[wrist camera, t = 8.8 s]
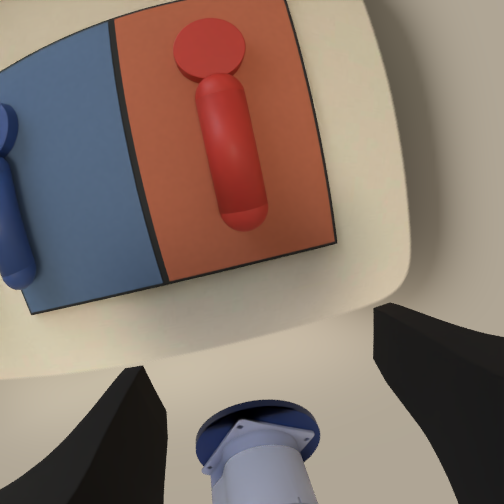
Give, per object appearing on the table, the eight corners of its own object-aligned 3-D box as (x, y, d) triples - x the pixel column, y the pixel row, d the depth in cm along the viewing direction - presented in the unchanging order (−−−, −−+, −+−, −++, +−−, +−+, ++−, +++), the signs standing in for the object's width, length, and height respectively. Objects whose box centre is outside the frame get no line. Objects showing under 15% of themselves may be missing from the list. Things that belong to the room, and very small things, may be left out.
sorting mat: (335, 242, 18) (338, 244, 18) (34, 312, 17) (30, 316, 16) (280, -10, 14) (282, -14, 13) (-18, 85, 12) (-22, 84, 12)
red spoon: (170, 34, 13) (165, 16, 11) (235, 21, 14) (240, 2, 11) (212, 233, 17) (213, 244, 14) (278, 218, 17) (289, 227, 15)
